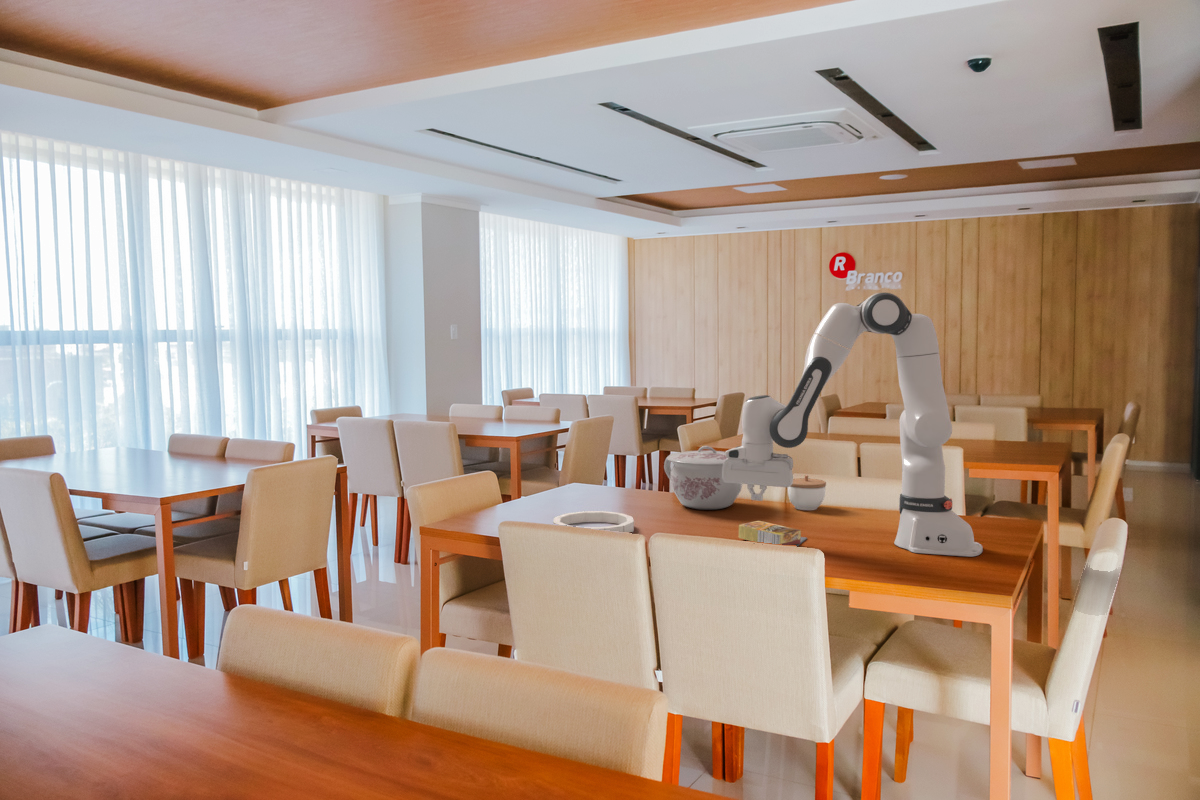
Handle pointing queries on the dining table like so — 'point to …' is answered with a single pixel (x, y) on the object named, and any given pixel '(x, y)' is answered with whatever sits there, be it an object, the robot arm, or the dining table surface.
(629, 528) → the flower saucer rim
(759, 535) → the candy box
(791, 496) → the lidded bowl
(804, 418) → the robot arm
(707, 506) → the chamber pot
